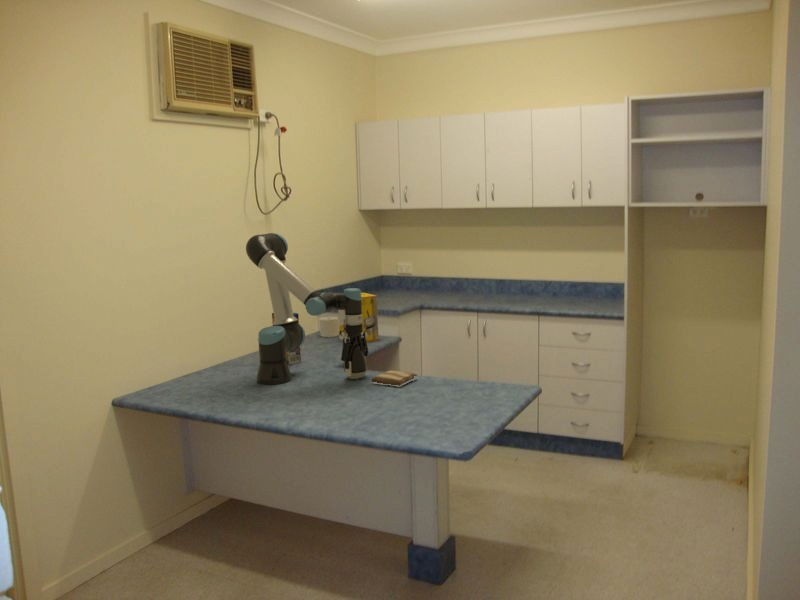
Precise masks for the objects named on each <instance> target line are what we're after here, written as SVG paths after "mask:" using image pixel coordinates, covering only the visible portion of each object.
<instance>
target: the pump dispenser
mask: <svg viewBox="0 0 800 600" xmlns="http://www.w3.org/2000/svg"><path fill="white" fill-rule="evenodd" d="M364 349H366V346H365V347H362V348H360V347H359V346H358V345H355V347H354V348H353V351H352V354H351V358H350V361H351V373H352V376H346V377H347V378H348V379H350V380H354V379H356V380H359V379H358V378H361V379H363V378H364V377H365V376H366V373H367V371H368V366H367V360H366V359H367V358H366V359H365V356H364V354H363V351H362V350H364ZM347 359H348V358H347ZM343 363H344V364H343V371H344V372H345V362H344V361H343ZM362 377H363V378H362Z"/></svg>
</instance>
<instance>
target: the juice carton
mask: <svg viewBox="0 0 800 600" xmlns="http://www.w3.org/2000/svg"><path fill="white" fill-rule="evenodd" d="M293 315H294V317H295V318H297V319H298V323H299V324H300V321H299V320H300V319H299V318H300V317H299V313H298V312H293ZM271 319H272V320H271V321H272V325H273V323H274V321H275V317H274V312H272V313H271ZM301 359H302V358H301V346H300V347H298V348H297V349H295V350H291V351H288V352H286V361H287V365H292V364H296V363H301V361H302V360H301Z"/></svg>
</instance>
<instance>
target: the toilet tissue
mask: <svg viewBox="0 0 800 600" xmlns="http://www.w3.org/2000/svg"><path fill="white" fill-rule="evenodd" d="M319 327H320V328H319V329H320V332H319V333H320V337H323V338H334V337H338V336H339V317H337V316H336V317H335V316H327V317H320V318H319Z"/></svg>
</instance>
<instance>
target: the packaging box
mask: <svg viewBox="0 0 800 600" xmlns="http://www.w3.org/2000/svg"><path fill="white" fill-rule="evenodd" d="M361 298H362V323H361V324H362V325H363V332H361V333H365V336H366V342H367V343H368V342H369V343H370V342H374V341H379V321H378V320H379V318H378V317H379V316H378V315H379V313H378V312H379V311H378V310H379V309H378V295H376V294H370V293H366V292H361ZM337 312H338V324H339V335H338V336H339V337H338V338H339V340H340V341H343V338H347V337H348V334H347V333H346V328H345V325H346V323H345V310H337Z"/></svg>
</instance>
